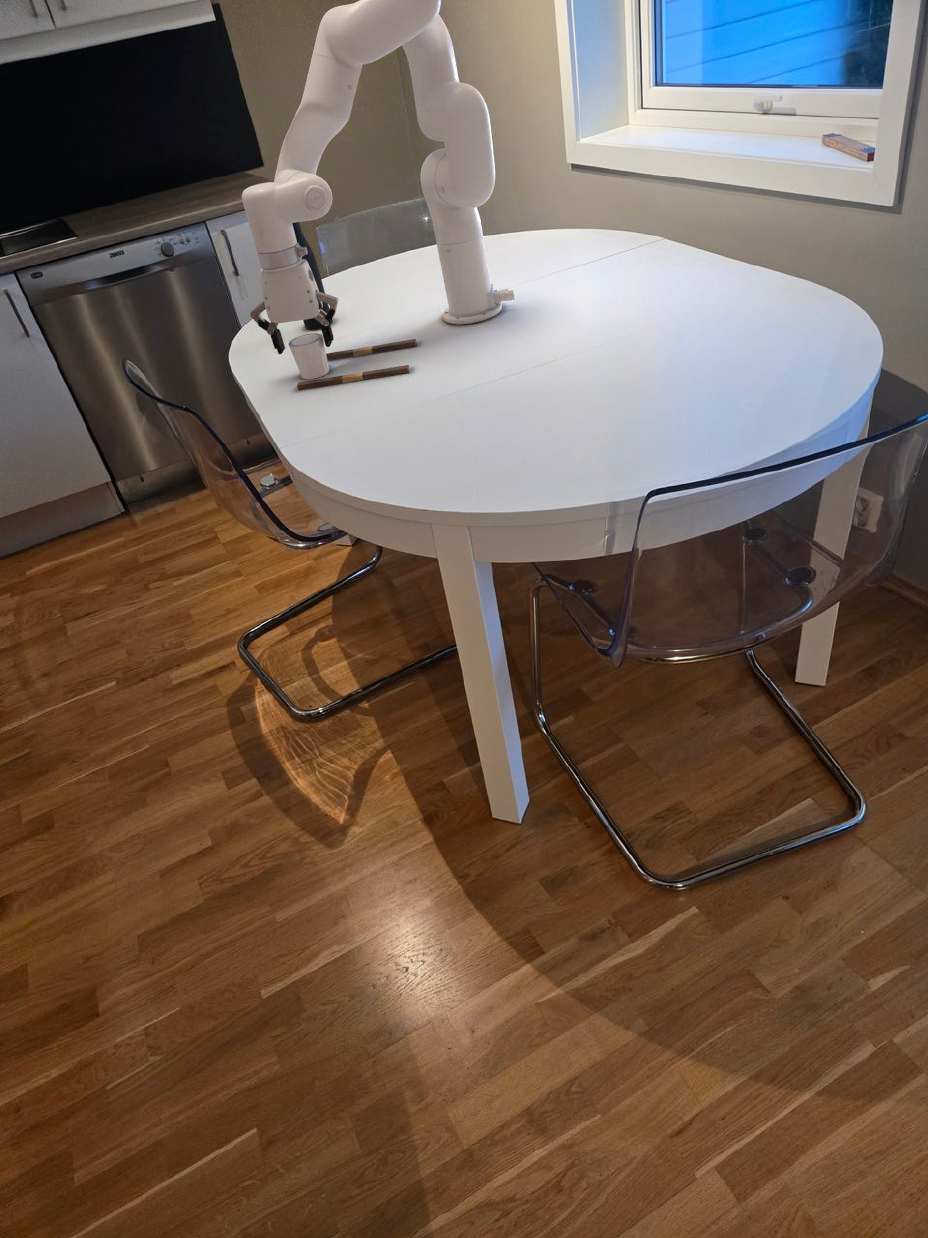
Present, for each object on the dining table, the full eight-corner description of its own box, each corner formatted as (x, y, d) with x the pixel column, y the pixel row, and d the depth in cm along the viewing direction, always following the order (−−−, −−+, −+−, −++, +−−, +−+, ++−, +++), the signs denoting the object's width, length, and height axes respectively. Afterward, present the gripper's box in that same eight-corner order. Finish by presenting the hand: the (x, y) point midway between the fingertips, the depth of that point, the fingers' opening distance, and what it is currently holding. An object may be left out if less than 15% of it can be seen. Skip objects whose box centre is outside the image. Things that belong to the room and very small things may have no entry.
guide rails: (416, 343, 177) (415, 338, 177) (408, 372, 165) (407, 367, 165) (313, 360, 180) (311, 355, 180) (298, 390, 169) (296, 385, 168)
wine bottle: (338, 319, 199) (299, 176, 182) (323, 330, 195) (282, 185, 177) (315, 319, 202) (275, 179, 184) (300, 330, 198) (257, 188, 180)
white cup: (325, 378, 171) (315, 344, 166) (293, 382, 173) (282, 347, 168) (336, 364, 176) (327, 330, 172) (305, 367, 178) (295, 334, 174)
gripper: (329, 244, 163) (351, 335, 173) (241, 259, 165) (267, 347, 175) (321, 255, 157) (345, 348, 167) (230, 270, 159) (258, 361, 169)
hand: (305, 348), depth 171 cm, fingers open, 9 cm apart
